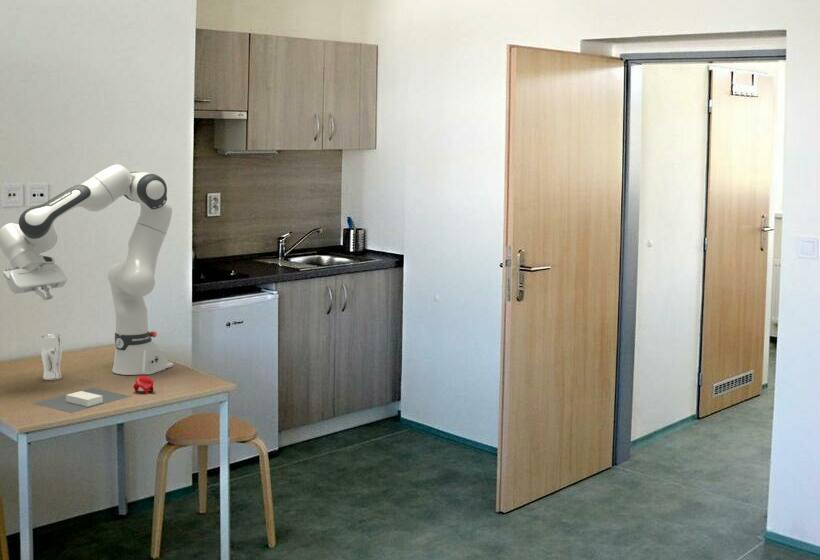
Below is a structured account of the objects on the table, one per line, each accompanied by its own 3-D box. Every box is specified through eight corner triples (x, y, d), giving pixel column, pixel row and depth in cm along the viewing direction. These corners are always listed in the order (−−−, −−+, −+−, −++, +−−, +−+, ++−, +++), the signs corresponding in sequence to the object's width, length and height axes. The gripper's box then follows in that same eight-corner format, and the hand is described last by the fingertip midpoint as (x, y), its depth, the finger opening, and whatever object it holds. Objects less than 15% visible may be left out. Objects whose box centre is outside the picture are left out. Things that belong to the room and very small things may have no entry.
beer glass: (43, 381, 353) (41, 338, 351) (40, 376, 360) (38, 334, 357) (64, 379, 357) (63, 337, 354) (61, 375, 363) (59, 333, 360)
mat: (92, 389, 344) (92, 387, 344) (130, 398, 335) (130, 396, 335) (32, 405, 324) (32, 403, 324) (71, 414, 315) (71, 412, 315)
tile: (81, 390, 331) (102, 395, 326) (81, 398, 331) (102, 403, 326) (66, 394, 326) (87, 399, 321) (66, 402, 326) (87, 407, 321)
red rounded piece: (146, 388, 336) (157, 375, 340) (131, 380, 337) (141, 368, 341) (147, 402, 341) (158, 390, 345) (132, 395, 342) (143, 383, 347)
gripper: (5, 263, 329) (26, 296, 325) (57, 257, 346) (77, 288, 343) (-4, 275, 332) (17, 308, 328) (49, 268, 349) (69, 300, 346)
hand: (48, 298), depth 336 cm, fingers closed
